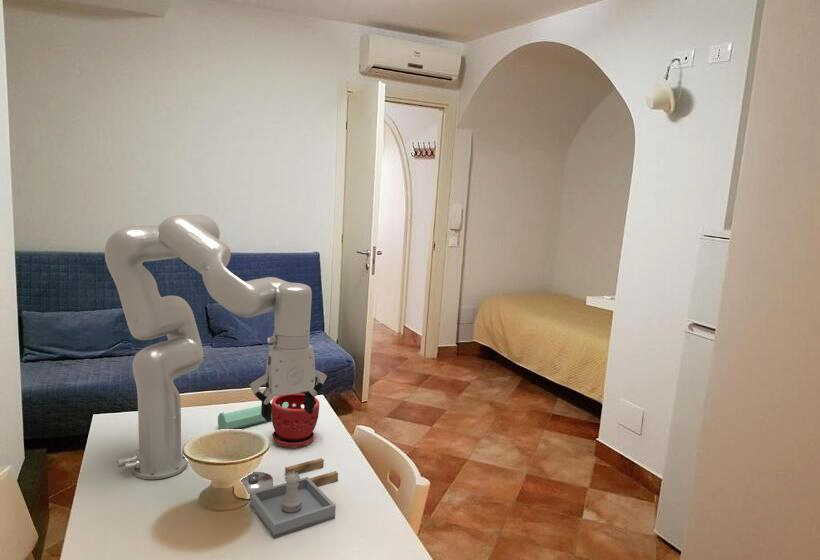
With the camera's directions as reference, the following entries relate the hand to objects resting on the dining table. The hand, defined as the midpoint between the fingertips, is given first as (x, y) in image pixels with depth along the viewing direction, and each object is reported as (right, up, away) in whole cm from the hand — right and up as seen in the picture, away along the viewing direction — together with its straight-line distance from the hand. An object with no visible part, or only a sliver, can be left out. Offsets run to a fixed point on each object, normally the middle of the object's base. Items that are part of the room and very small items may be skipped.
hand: (288, 415), depth 121 cm
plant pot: (-6, -16, +35) cm, 39 cm away
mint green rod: (-18, -14, +46) cm, 51 cm away
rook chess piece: (+1, -21, 0) cm, 21 cm away
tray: (+1, -21, 0) cm, 21 cm away
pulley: (-10, -20, +8) cm, 24 cm away
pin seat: (+2, -19, +15) cm, 25 cm away
